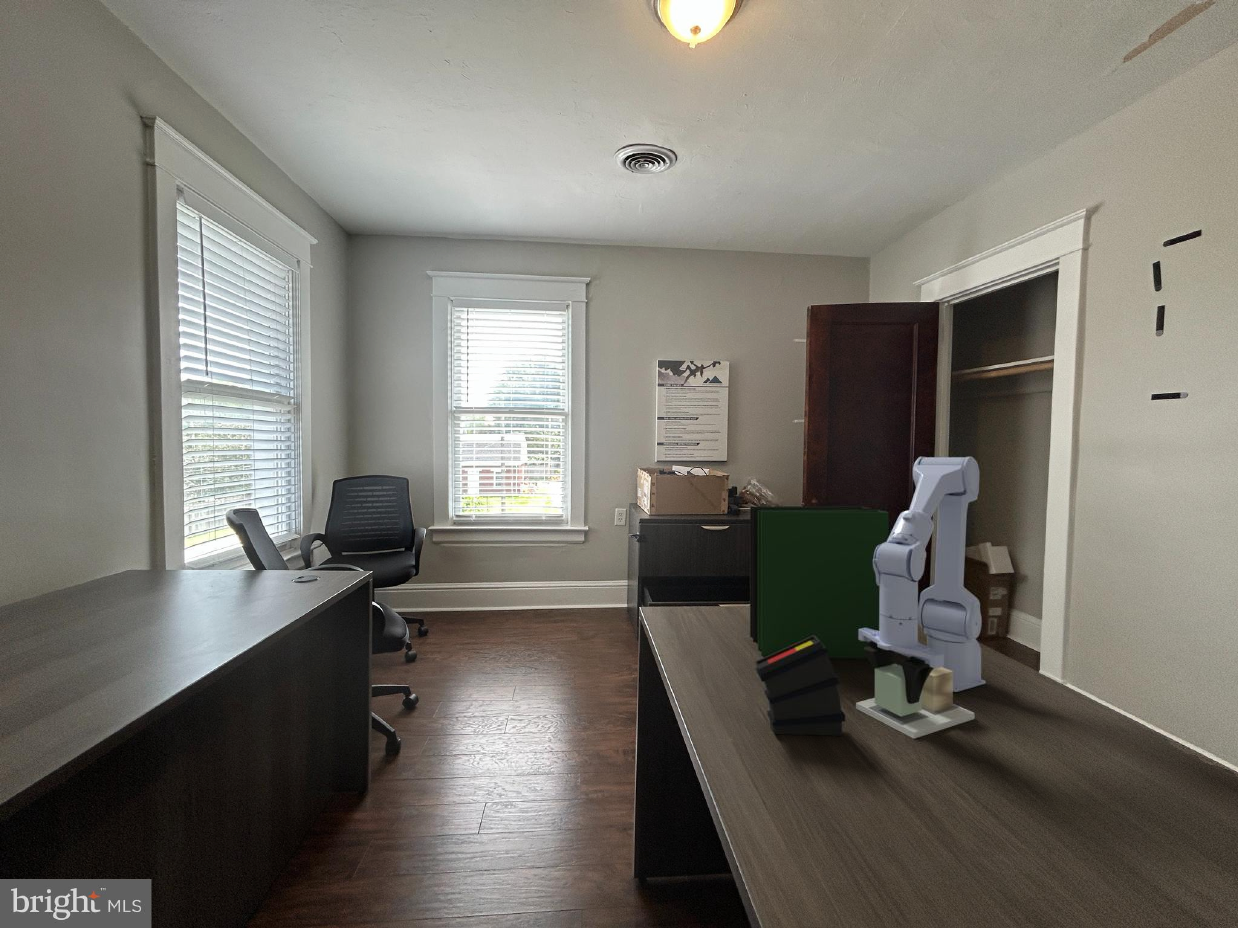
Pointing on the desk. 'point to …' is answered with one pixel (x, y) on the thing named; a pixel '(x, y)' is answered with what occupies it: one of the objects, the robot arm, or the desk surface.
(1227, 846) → the desk surface
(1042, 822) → the desk surface
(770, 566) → the binder
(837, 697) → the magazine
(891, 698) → the sage post
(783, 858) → the desk surface
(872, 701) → the board
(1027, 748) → the desk surface
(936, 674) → the wooden toy cube
